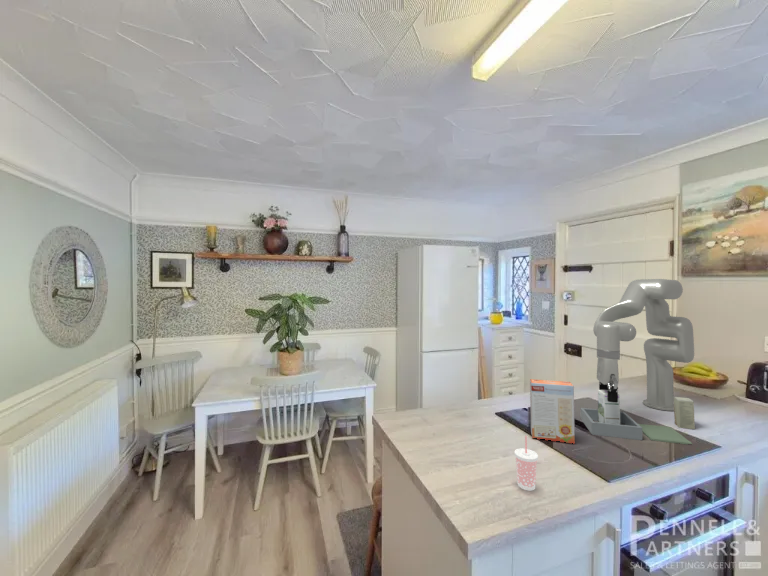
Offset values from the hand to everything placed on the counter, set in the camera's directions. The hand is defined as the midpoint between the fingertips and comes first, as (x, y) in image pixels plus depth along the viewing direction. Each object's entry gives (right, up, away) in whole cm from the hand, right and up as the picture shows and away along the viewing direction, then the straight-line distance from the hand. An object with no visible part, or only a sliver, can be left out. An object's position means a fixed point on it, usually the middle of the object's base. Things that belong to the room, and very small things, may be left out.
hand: (608, 398), depth 127 cm
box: (+32, -12, +2) cm, 34 cm away
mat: (+17, -12, -5) cm, 21 cm away
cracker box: (-26, -13, -8) cm, 30 cm away
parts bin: (+1, -12, 0) cm, 12 cm away
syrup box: (+1, -12, 0) cm, 12 cm away
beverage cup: (-48, -12, -36) cm, 62 cm away
